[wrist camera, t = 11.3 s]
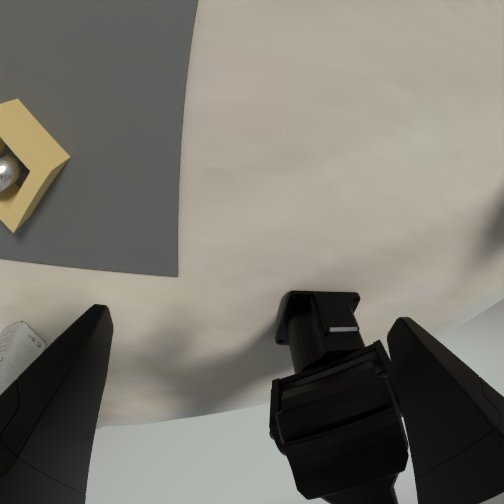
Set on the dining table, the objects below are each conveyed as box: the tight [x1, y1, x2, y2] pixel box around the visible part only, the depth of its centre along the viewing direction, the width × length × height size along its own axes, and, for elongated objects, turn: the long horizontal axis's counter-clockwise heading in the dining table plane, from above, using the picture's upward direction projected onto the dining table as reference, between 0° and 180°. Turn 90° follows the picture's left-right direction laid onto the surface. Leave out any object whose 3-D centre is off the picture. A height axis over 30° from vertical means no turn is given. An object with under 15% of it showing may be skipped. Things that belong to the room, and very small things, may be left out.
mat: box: [0, 0, 198, 277], centre depth 14 cm, size 24×25×1 cm
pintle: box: [0, 152, 29, 193], centre depth 14 cm, size 2×2×3 cm
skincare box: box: [0, 322, 46, 395], centre depth 21 cm, size 6×4×12 cm
